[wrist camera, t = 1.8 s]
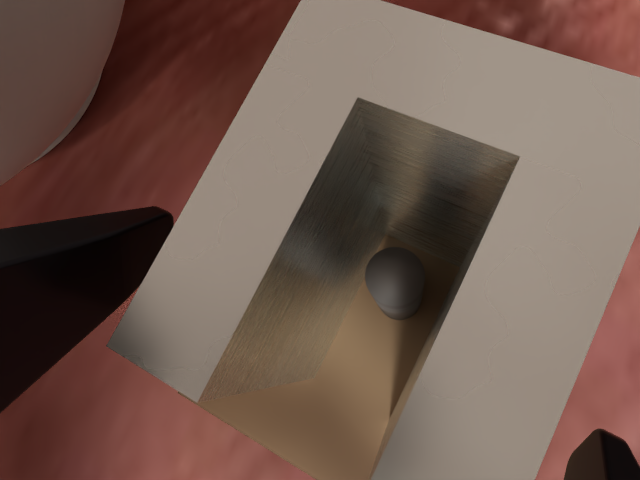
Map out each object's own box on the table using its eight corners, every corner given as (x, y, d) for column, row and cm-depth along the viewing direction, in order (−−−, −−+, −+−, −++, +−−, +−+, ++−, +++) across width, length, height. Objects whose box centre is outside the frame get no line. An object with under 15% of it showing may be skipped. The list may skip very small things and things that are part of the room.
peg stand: (473, 564, 16) (509, 685, 10) (191, 390, 19) (94, 405, 13) (624, 206, 18) (729, 131, 12) (344, 102, 21) (318, 3, 15)
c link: (442, 449, 16) (490, 586, 6) (268, 352, 18) (106, 346, 8) (535, 241, 17) (694, 93, 7) (362, 170, 19) (312, -20, 9)
